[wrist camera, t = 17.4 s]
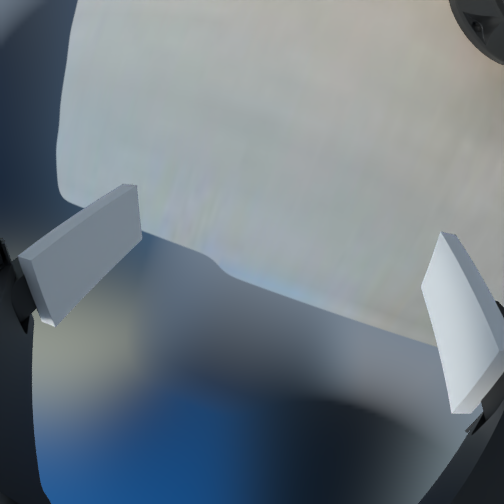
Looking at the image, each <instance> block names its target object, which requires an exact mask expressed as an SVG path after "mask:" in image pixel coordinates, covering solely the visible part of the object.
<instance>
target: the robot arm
mask: <svg viewBox="0 0 504 504" xmlns="http://www.w3.org/2000/svg"><path fill="white" fill-rule="evenodd" d="M449 2H450V6H451V9H452V12H453V14H454V17H455V19H456V21H457V23H458V24H459V26H460V28H461V29H462V31H463V32H464V34H465V35H466V36H467V38H468V39H469V40H470V41H471V42H472V43H473V45H474V46H475V47H476V48H477V49H479V50H480V51H481V52H482V53H483V54H484V55H486V56H487V57H489V58H490V59H492V60H493V61H495V62H497V63H499V64H502V65H504V0H449ZM141 240H142V232H141V223H140V214H139V204H138V193H137V185H129V184H122V185H121V186H119V187H117V188H116V189H114V190H113V191H111V192H109V193H108V194H106V195H104V196H103V197H101V198H100V199H98V200H97V201H95V202H93V203H92V204H90V205H89V206H87V207H86V208H84V209H83V210H81V211H80V212H78V213H77V214H75V215H74V216H72V217H71V218H69V219H68V220H66V221H65V222H64V223H62V224H61V225H59V226H58V227H56V228H55V229H53V230H52V231H51V232H49V233H48V234H47V235H45V236H44V237H42V238H41V239H40V240H38V241H37V242H36V243H34V244H33V245H32V246H30V247H29V248H28V249H26V250H25V251H24V252H22V253H21V254H20V255H18V257H17V258H16V259H15V260H13V261H11V259H10V255H9V252H8V249H7V246H6V243H5V240H4V239H3V238H0V504H51V503H50V501H49V499H48V498H47V496H46V494H45V493H44V491H43V489H42V486H41V483H40V477H39V470H38V463H37V456H36V447H35V437H34V425H33V409H32V348H33V330H34V319H33V316H32V314H31V313H32V312H33V311H34V310H35V309H36V308H37V311H38V313H39V316H40V318H41V320H42V321H43V322H45V323H47V324H49V325H52V326H54V327H56V326H57V325H58V324H59V323H60V322H61V321H62V319H64V317H65V316H66V315H67V314H68V313H69V312H70V311H71V310H72V309H73V308H74V307H75V306H76V305H77V304H78V302H79V301H80V300H81V299H82V298H83V297H84V296H85V295H86V294H87V293H88V292H89V291H90V290H91V289H92V288H93V287H94V286H95V285H96V284H97V283H98V282H99V281H100V280H101V279H102V278H103V277H104V276H105V275H106V274H107V273H108V272H109V271H110V270H111V269H112V268H113V267H114V266H115V265H116V264H117V263H118V262H119V261H120V260H121V259H122V258H123V257H124V256H125V255H126V254H127V253H128V252H129V251H130V250H131V249H132V248H133V247H134V246H135V245H136V244H137V243H138V242H140V241H141ZM421 289H422V292H423V295H424V299H425V302H426V305H427V309H428V312H429V315H430V319H431V323H432V326H433V330H434V334H435V338H436V341H437V345H438V349H439V354H440V358H441V362H442V366H443V371H444V376H445V381H446V385H447V390H448V396H449V401H450V406H451V413H452V414H453V413H454V414H462V413H463V414H464V413H466V414H468V413H469V414H470V413H472V412H473V410H474V409H475V408H476V407H477V406H478V405H479V404H480V402H481V403H482V407H483V412H482V414H481V415H480V416H479V417H478V418H477V419H476V420H475V421H474V422H473V423H472V424H471V425H470V426H469V427H468V428H467V429H466V432H469V431H470V432H469V433H468V435H467V436H466V438H465V440H464V441H463V443H462V444H461V446H460V448H459V449H458V451H457V452H456V454H455V455H454V457H453V458H452V460H451V461H450V463H449V464H448V465H447V467H446V468H445V470H444V471H443V472H442V474H441V475H440V476H439V478H438V479H437V481H436V482H435V483H434V484H433V486H432V487H431V488H430V490H429V491H428V492H427V493H426V495H425V496H424V497H423V498H422V499H421V501H420V502H419V503H418V504H504V307H503V306H502V305H501V304H500V303H499V302H498V301H495V300H494V298H493V296H492V295H491V293H490V291H489V289H488V287H487V285H486V284H485V282H484V280H483V278H482V277H481V275H480V273H479V271H478V270H477V268H476V266H475V265H474V263H473V261H472V260H471V258H470V256H469V255H468V253H467V251H466V250H465V248H464V247H463V245H462V244H461V242H460V240H459V239H458V237H457V236H456V235H454V234H449V233H445V232H440V235H439V238H438V241H437V244H436V247H435V250H434V253H433V256H432V258H431V261H430V264H429V267H428V269H427V272H426V275H425V277H424V280H423V283H422V285H421Z"/></svg>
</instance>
